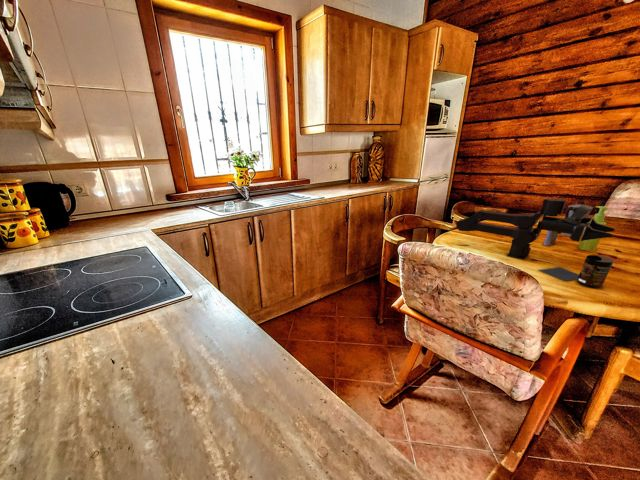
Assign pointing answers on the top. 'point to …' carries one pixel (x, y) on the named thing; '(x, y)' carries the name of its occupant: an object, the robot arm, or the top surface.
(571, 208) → the coffeepot
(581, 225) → the robot arm
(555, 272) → the mat
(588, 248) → the soap dispenser
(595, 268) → the supplement container
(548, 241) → the flask
